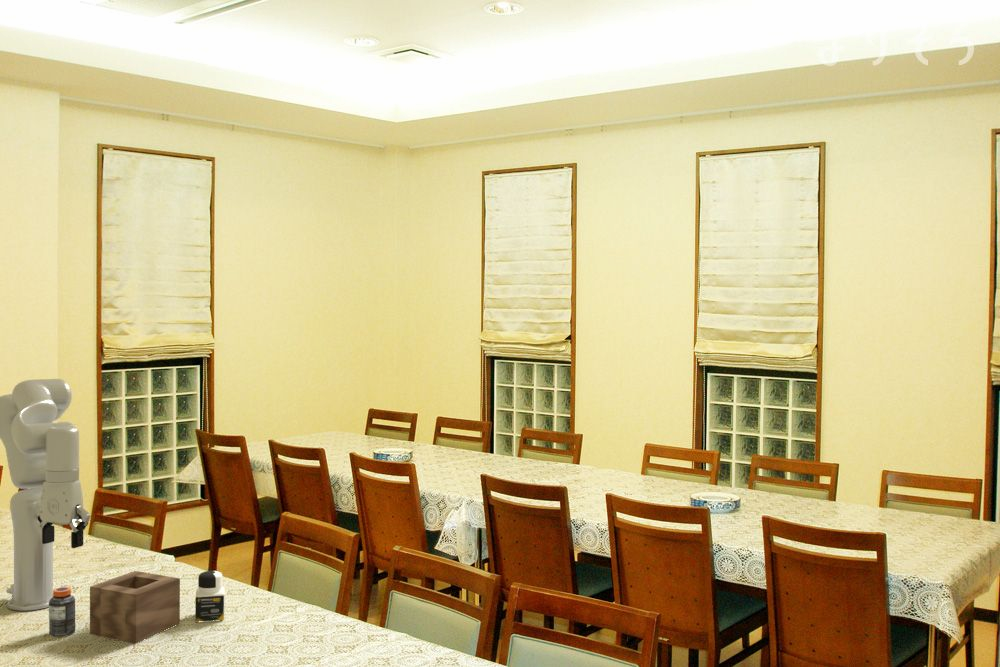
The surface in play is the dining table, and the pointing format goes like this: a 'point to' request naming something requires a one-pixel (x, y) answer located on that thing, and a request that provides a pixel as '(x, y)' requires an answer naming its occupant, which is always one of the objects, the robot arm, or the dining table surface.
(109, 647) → the dining table surface
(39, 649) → the dining table surface
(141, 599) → the wooden box holder
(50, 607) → the pill bottle
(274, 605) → the dining table surface
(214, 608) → the medicine bottle
